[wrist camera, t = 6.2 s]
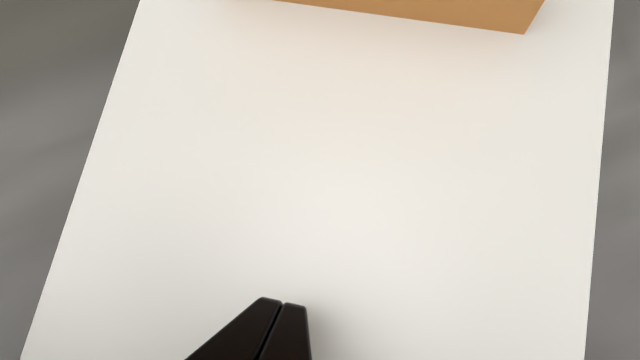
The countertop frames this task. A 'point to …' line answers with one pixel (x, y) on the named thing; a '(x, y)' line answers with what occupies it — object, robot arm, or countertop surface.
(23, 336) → the countertop surface
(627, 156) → the countertop surface
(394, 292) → the lid
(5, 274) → the countertop surface
